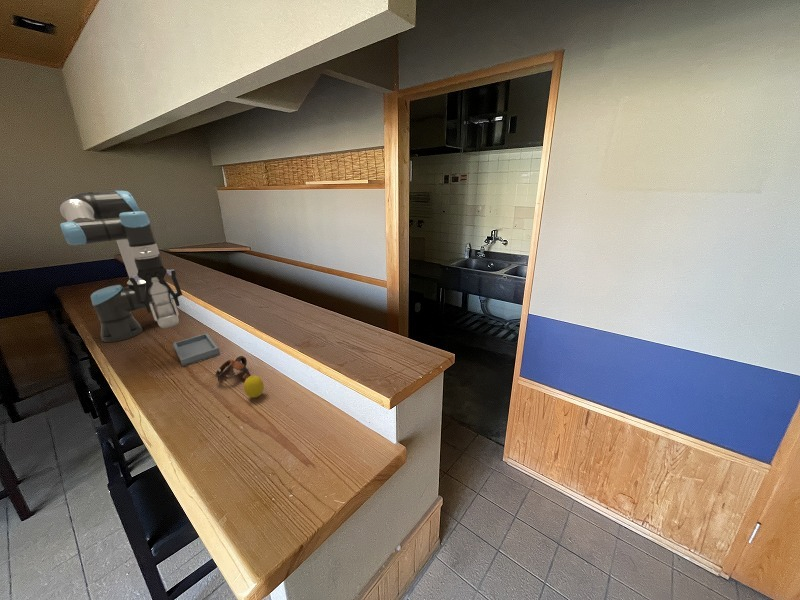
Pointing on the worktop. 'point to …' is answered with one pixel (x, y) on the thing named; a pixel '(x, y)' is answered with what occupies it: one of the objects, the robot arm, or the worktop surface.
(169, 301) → the plastic bottle
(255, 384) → the lemon
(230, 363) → the brown irregular piece
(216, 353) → the tray
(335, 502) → the worktop surface
